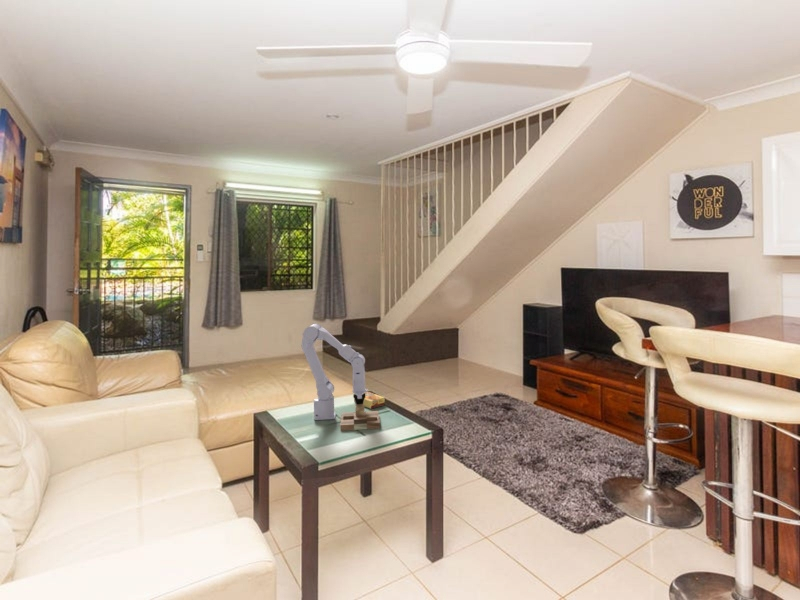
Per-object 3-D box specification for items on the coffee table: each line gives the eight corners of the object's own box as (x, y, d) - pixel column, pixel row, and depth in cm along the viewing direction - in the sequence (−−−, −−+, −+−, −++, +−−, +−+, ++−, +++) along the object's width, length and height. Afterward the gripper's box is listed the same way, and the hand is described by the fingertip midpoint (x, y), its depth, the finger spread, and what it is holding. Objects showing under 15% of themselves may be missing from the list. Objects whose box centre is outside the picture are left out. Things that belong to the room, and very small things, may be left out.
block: (355, 415, 194) (355, 407, 193) (355, 412, 198) (355, 404, 197) (364, 415, 194) (364, 406, 194) (364, 412, 198) (363, 403, 198)
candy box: (385, 405, 215) (367, 398, 227) (384, 397, 215) (367, 390, 227) (370, 409, 210) (353, 402, 222) (370, 400, 210) (353, 394, 222)
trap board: (341, 417, 198) (341, 408, 198) (378, 415, 200) (377, 406, 200) (340, 430, 183) (340, 420, 182) (380, 428, 184) (379, 418, 184)
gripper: (368, 384, 192) (369, 414, 193) (366, 376, 206) (367, 404, 207) (352, 385, 191) (353, 415, 192) (352, 377, 205) (353, 405, 206)
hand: (359, 409), depth 199 cm, fingers closed
